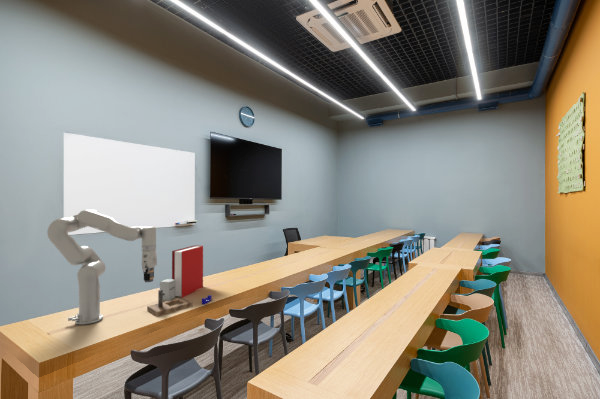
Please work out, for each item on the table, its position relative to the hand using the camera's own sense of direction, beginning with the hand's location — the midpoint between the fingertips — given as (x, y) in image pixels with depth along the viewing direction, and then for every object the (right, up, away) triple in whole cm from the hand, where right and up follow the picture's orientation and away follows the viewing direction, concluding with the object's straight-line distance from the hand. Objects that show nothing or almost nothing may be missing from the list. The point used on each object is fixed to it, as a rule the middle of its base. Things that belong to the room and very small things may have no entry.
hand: (148, 278), depth 174 cm
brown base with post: (+7, -21, +12) cm, 26 cm away
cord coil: (0, -1, 0) cm, 1 cm away
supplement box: (-2, -22, +30) cm, 37 cm away
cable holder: (+26, -22, +22) cm, 41 cm away
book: (+6, -22, +46) cm, 52 cm away
